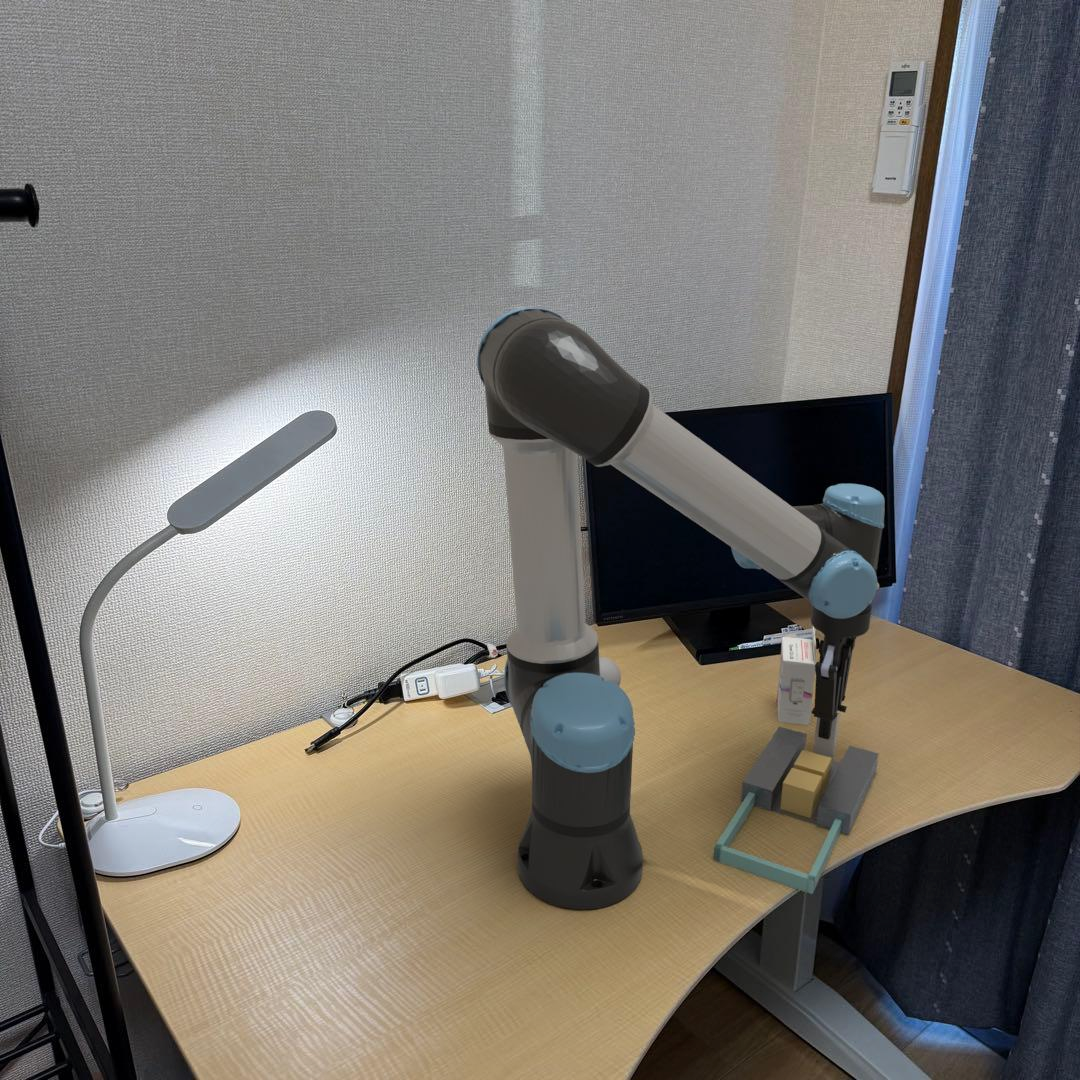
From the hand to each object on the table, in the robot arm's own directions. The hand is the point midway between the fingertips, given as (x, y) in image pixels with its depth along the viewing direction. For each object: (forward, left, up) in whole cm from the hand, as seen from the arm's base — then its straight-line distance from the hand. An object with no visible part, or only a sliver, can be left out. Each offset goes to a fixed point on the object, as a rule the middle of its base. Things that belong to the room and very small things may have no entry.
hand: (823, 753), depth 135 cm
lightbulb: (-5, +33, -3) cm, 33 cm away
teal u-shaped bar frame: (-21, 0, -3) cm, 22 cm away
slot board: (-7, 0, -3) cm, 7 cm away
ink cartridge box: (+12, +8, -3) cm, 15 cm away
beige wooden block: (-7, 0, -1) cm, 7 cm away
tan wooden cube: (-12, 0, -1) cm, 12 cm away
